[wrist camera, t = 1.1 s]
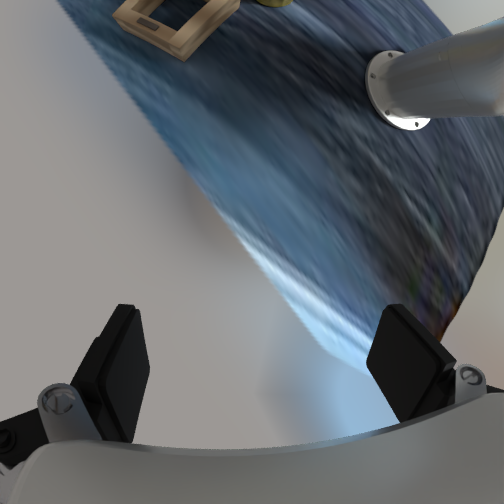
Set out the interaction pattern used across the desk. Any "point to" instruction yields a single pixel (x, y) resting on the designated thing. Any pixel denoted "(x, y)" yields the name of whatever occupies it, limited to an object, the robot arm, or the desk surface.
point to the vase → (275, 2)
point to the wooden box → (173, 42)
